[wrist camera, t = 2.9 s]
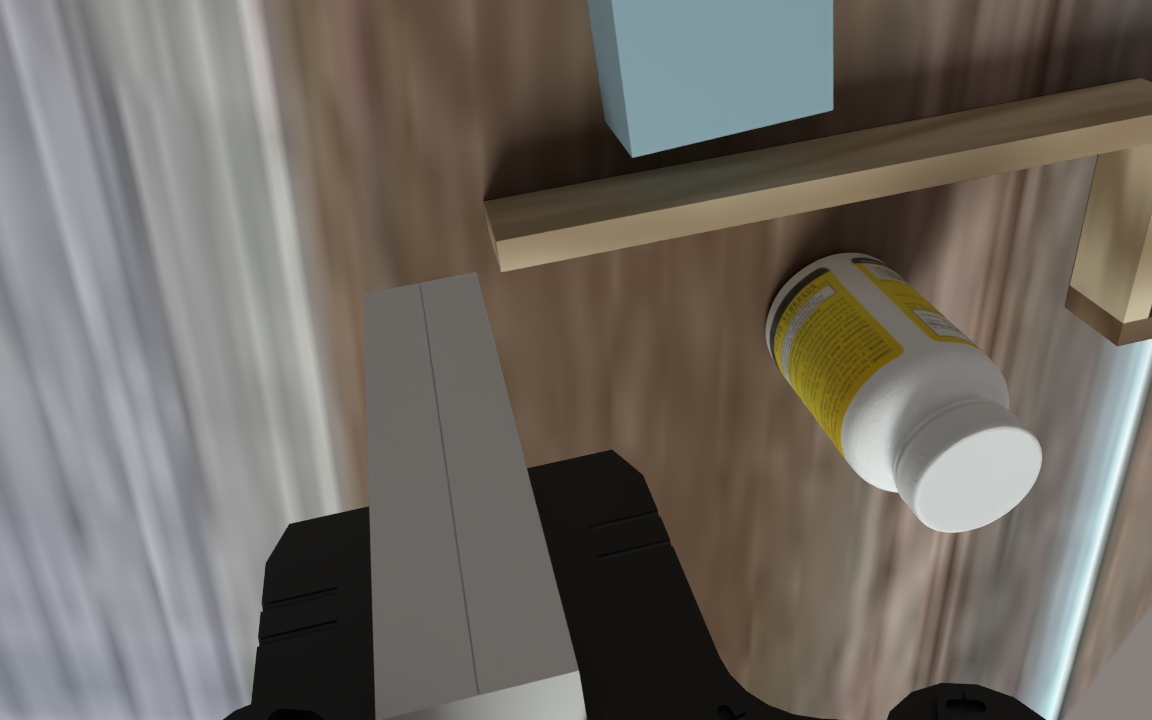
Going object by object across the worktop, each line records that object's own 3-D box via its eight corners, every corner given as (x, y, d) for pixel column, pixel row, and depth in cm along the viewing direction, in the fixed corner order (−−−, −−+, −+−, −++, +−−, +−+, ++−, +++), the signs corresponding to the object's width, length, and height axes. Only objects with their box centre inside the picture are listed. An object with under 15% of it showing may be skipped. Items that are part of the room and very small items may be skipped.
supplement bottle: (763, 389, 36) (886, 570, 28) (758, 267, 33) (894, 431, 25) (894, 356, 36) (1053, 525, 28) (901, 232, 33) (1080, 382, 25)
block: (572, -90, 25) (602, -72, 23) (778, -134, 26) (832, -122, 23) (603, 119, 29) (632, 157, 26) (784, 76, 29) (833, 110, 26)
